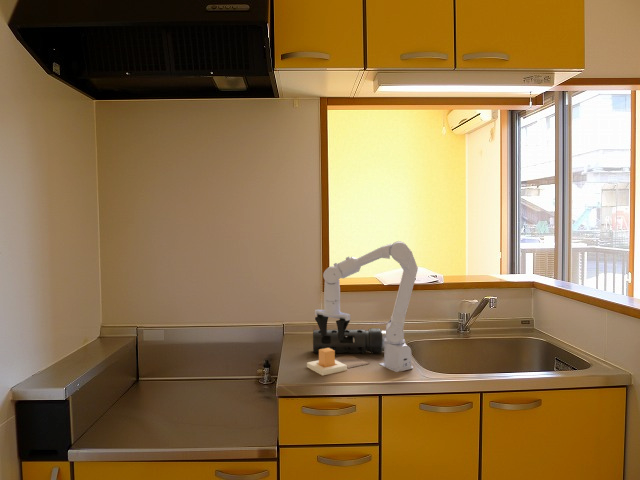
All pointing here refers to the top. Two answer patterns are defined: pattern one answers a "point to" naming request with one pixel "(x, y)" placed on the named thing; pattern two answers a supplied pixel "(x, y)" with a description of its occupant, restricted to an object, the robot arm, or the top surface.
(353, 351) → the muzzle brake
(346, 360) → the pad
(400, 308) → the robot arm
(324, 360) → the plug
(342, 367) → the socket block
